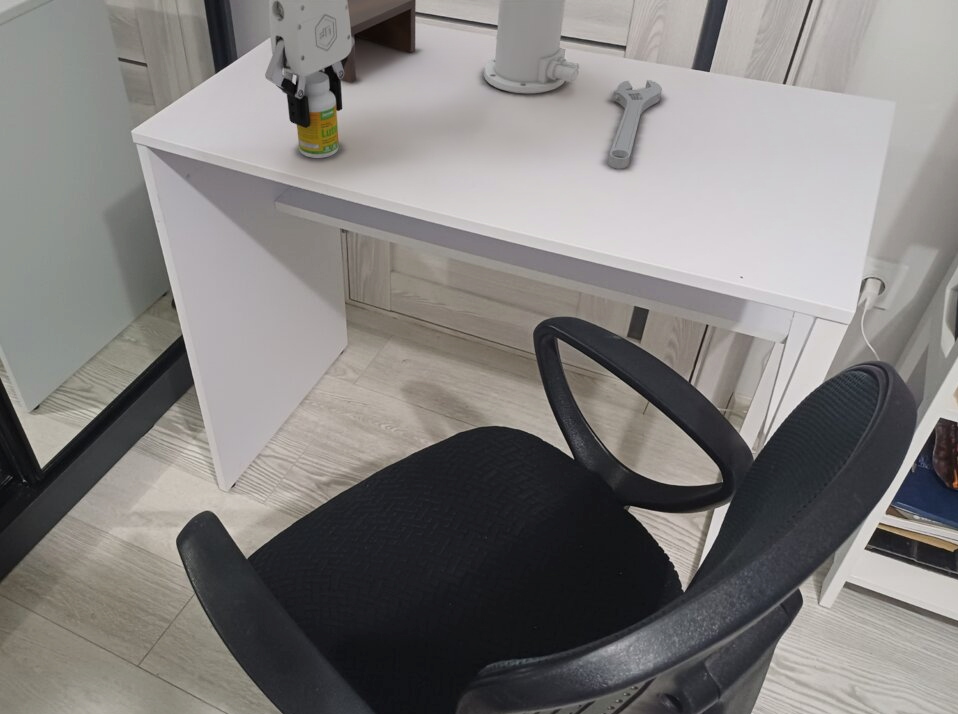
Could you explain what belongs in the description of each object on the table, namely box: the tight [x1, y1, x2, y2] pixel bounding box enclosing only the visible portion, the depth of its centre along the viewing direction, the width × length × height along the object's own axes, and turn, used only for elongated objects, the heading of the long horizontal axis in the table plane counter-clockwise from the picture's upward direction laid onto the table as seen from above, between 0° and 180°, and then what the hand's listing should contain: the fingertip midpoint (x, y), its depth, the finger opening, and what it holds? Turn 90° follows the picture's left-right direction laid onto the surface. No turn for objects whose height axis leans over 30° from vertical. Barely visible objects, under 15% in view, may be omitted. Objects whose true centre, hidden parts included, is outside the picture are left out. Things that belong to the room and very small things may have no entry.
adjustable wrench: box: [607, 79, 663, 170], centre depth 115 cm, size 25×6×2 cm, turn 157°
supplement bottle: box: [296, 71, 340, 159], centre depth 108 cm, size 5×5×10 cm
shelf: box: [318, 0, 417, 84], centre depth 131 cm, size 14×16×8 cm
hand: (316, 114), depth 108 cm, fingers closed on supplement bottle, 5 cm apart
